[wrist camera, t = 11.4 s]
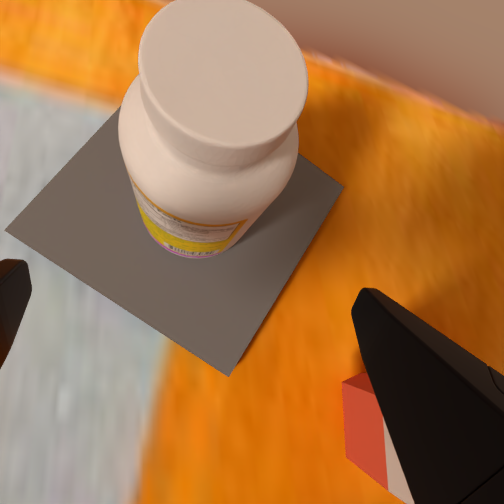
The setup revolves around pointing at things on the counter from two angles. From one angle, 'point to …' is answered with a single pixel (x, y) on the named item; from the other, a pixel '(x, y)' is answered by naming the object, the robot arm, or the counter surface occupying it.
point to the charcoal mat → (165, 262)
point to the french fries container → (371, 437)
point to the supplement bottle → (211, 122)
